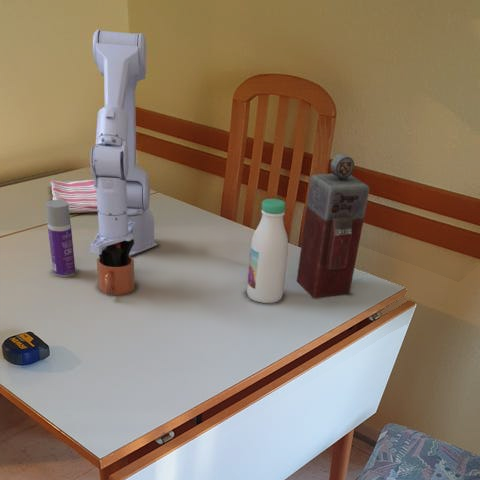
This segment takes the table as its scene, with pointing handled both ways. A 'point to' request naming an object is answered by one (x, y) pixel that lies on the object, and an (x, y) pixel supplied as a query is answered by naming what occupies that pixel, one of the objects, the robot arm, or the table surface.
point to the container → (60, 238)
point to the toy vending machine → (332, 230)
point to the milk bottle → (268, 254)
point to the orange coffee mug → (116, 278)
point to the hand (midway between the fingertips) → (116, 275)
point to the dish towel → (76, 195)
